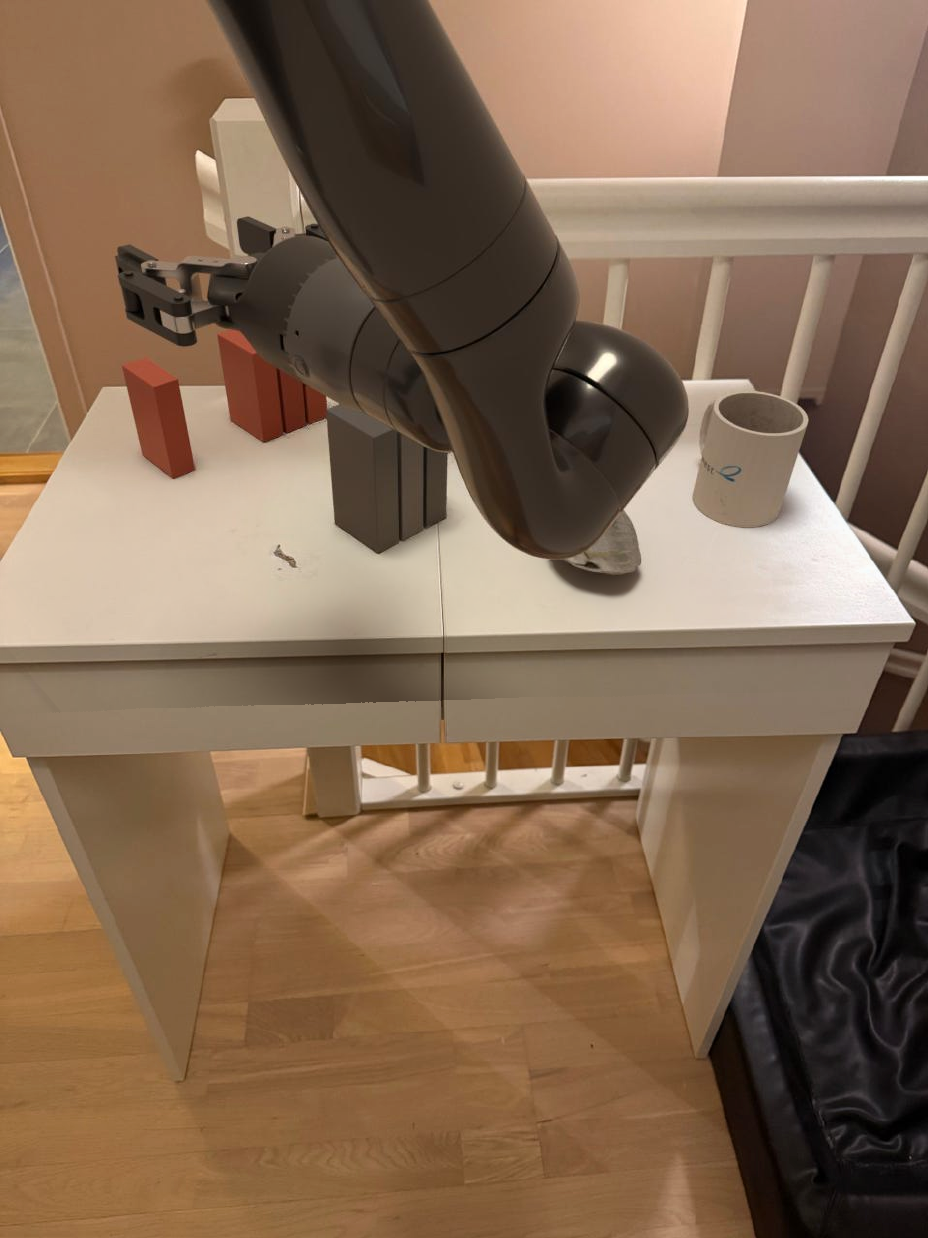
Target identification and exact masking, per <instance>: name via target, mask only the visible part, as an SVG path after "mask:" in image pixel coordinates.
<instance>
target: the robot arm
mask: <svg viewBox="0 0 928 1238" xmlns="http://www.w3.org/2000/svg"><path fill="white" fill-rule="evenodd" d="M204 1H205V2H206V5H207V6H208V8H209V9H210V12H211V13H212V15H213V17H214V19H215V21H216V23H217V24H218V27H219V28H220V31H221V33H222V34H223V37H224V39H225V40H226V43H227V45H228V46H229V48H230V50H231V52H232V54H233V56H234V59H235V60H236V62H237V64H238V66H239V68H240V70H241V73H242V75H243V77H244V79H245V81H246V84H247V85H248V88H249V90H250V92H251V94H252V96H253V98H254V101H255V102H256V104H257V106H258V109H259V111H260V113H261V115H262V117H263V120H264V121H265V124H266V126H267V127H268V129H269V132H270V134H271V136H272V138H273V140H274V142H275V144H276V147H277V149H278V151H279V153H280V155H281V157H282V159H283V161H284V163H285V165H286V166H287V169H288V171H289V174H290V175H291V178H292V179H293V181H294V182H295V184H296V186H297V188H298V190H299V192H300V194H301V197H302V199H303V200H304V202H305V204H306V206H307V207H308V209H309V211H310V213H311V215H312V216H313V218H314V220H315V222H316V223H311V224H307V225H305V226H304V230H305V231H304V232H301V233H296V229H295V228H294V227H289V226H282V227H278V228H276V227H273V226H271V225H270V224H267V223H265V222H262V221H260V220H258V219H256V218H254V217H252V216H249V215H247V216H243V217H239V218H237V220H236V229H237V236H238V245H239V248H240V250H241V252H242V253H244V254H246V255H239V254H235V255H232V256H231V257H230V258H223V257H211V256H201V255H187V256H186V257H185V258H184V259H183V260H181V261H180V262H173V261H172V262H171V261H161V260H159V259H158V258H156V257H154V256H152V255H150V254H149V253H147V252H145V251H143V250H142V249H140V248H138V247H136V246H134V245H132V244H125V245H121V246H117V249H116V251H117V255H114V259H115V260H114V261H115V263H116V269H117V273H118V274H117V280H118V284H119V286H120V289H121V294H122V299H123V302H124V312H125V316H126V319H127V320H129V321H130V322H133V323H135V324H136V325H138V326H140V327H142V328H144V329H146V330H148V331H149V332H152V333H153V334H155V335H157V336H159V337H161V338H163V339H165V340H167V341H169V342H170V343H172V344H173V345H176V346H178V347H183V348H184V347H185V348H186V347H191V346H194V345H196V344H197V343H198V337H197V333H196V332H197V331H196V330H198V329H201V328H204V327H207V326H209V325H213V324H215V326H217V327H219V328H222V329H226V330H231V329H232V330H236V331H239V332H241V333H242V334H243V335H244V337H245V338H246V339H247V341H248V342H249V343H250V345H251V346H252V347H253V349H254V350H255V351H256V352H257V353H258V354H259V356H260V357H261V358H263V359H264V360H265V361H266V362H268V363H269V364H271V365H273V366H275V367H276V368H278V369H280V370H281V371H283V372H285V373H287V374H288V375H290V376H292V377H294V378H295V379H297V380H299V381H301V382H302V383H304V384H306V385H307V386H309V387H311V388H313V389H314V390H316V391H318V392H320V393H321V394H323V395H325V396H326V398H328V399H329V400H331V401H334V402H335V403H337V404H338V405H339V404H341V405H343V406H345V407H348V408H351V409H353V410H356V411H359V412H362V413H365V414H367V415H369V416H371V417H373V418H374V419H376V420H378V421H380V422H381V423H383V424H385V425H387V426H388V427H390V428H392V429H394V430H395V431H397V432H399V433H401V434H402V435H404V436H405V437H407V438H409V439H411V440H412V441H414V442H416V443H418V444H420V445H422V446H424V447H426V448H428V449H431V450H434V451H438V452H444V453H448V454H451V453H452V454H453V457H454V460H455V463H456V466H457V468H458V471H459V473H460V476H461V478H462V480H463V483H464V486H465V488H466V490H467V492H468V494H469V497H470V499H471V500H472V501H473V504H474V505H475V507H476V509H477V511H478V512H479V514H480V515H481V516H482V518H483V519H484V521H485V522H486V523H487V524H488V526H489V527H490V528H491V529H492V530H493V531H494V533H496V534H497V535H498V536H499V537H500V538H501V539H502V540H503V541H504V542H506V543H507V544H509V546H511V547H512V548H513V549H515V550H518V551H519V552H520V553H523V554H526V555H528V556H531V557H534V558H537V559H541V560H542V559H543V560H549V561H554V560H555V561H557V560H560V561H561V560H564V559H568V558H572V557H575V556H578V555H580V554H582V553H584V552H585V551H587V550H588V549H589V548H591V547H592V546H593V545H594V544H595V543H596V542H597V541H598V540H599V539H600V538H601V537H602V536H603V535H604V534H605V532H606V531H607V530H608V529H609V527H610V526H611V525H612V524H613V522H614V521H615V520H616V519H617V517H618V516H619V514H620V513H621V512H622V511H623V510H624V511H625V509H626V508H627V506H628V505H629V504H630V502H631V501H632V500H633V498H634V497H635V496H636V495H637V494H638V493H639V491H640V490H641V489H642V487H643V486H644V485H645V484H646V483H647V482H648V480H649V478H650V477H651V476H652V475H653V473H654V471H656V470H657V469H658V468H659V466H660V465H661V464H662V462H663V461H664V460H665V459H666V458H667V457H668V455H669V454H670V453H671V451H672V450H673V449H674V447H675V446H676V445H677V444H678V442H679V440H680V439H681V437H682V434H683V433H684V431H685V429H686V426H687V423H688V419H689V415H690V413H689V412H690V409H689V408H690V407H689V406H690V405H689V398H688V397H689V396H688V393H687V390H686V387H685V384H684V381H683V380H682V378H681V376H680V375H679V373H678V371H677V369H676V368H675V367H674V365H673V364H672V363H671V362H670V360H669V359H668V358H667V357H666V356H665V355H664V354H662V353H661V352H660V351H659V350H658V349H657V348H656V347H654V346H653V345H652V344H650V343H649V342H647V341H646V340H645V339H643V338H640V337H639V336H637V335H635V334H633V333H632V332H629V331H627V330H624V329H622V328H619V327H615V326H612V325H609V324H604V323H601V322H596V321H590V320H582V319H577V318H578V317H577V316H578V314H579V307H580V288H579V287H580V286H579V283H578V280H577V276H576V273H575V271H574V268H573V265H572V264H571V261H570V259H569V257H568V255H567V253H566V251H565V249H564V248H563V245H562V243H561V241H560V240H559V238H558V236H557V235H556V232H555V230H554V228H553V227H552V225H551V223H550V220H549V219H548V217H547V215H546V213H545V211H544V209H543V207H542V205H541V203H540V201H539V200H538V199H537V196H536V194H535V193H534V191H533V189H532V187H531V184H530V183H529V181H528V179H527V177H526V175H525V174H524V172H523V170H522V168H521V166H520V164H519V161H517V159H516V157H515V154H514V153H513V151H512V149H511V148H510V146H509V144H508V142H507V140H506V138H505V137H504V134H503V133H502V131H501V129H500V127H499V126H498V123H497V122H496V119H495V118H494V116H493V115H492V112H491V111H490V109H489V107H488V105H487V103H486V101H485V100H484V98H483V96H482V95H481V93H480V91H479V89H478V87H477V85H476V83H475V81H474V80H473V79H472V76H471V74H470V73H469V70H468V69H467V67H466V65H465V64H464V62H463V59H462V58H461V57H460V54H459V52H458V51H457V49H456V47H455V45H454V42H452V39H451V38H450V36H449V34H448V33H447V30H446V28H445V27H444V25H443V23H442V22H441V21H442V20H441V19H440V18H439V16H438V14H437V12H436V10H435V9H434V7H433V5H432V3H431V1H430V0H204ZM200 274H205V275H209V280H208V287H207V293H206V299H207V300H205V299H204V297H203V291H202V285H201V279H200ZM166 278H167V279H174V280H176V281H177V282H178V283H179V286H180V288H178V289H174V288H172V287H170V286H169V285H168V284H167V279H166Z"/></svg>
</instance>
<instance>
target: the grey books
mask: <svg viewBox="0 0 928 1238" xmlns="http://www.w3.org/2000/svg"><path fill="white" fill-rule="evenodd" d="M326 416H327V417H326V429H327V440H328V454H329V466H330V467H329V468H330V481H331V493H332V506H333V507H332V508H333V518H334V521H333V522H334V524H335V526H338V527H339V528H341V529H342V530H343V531H345V532H346V533H348V534H349V535H350V536H352V537H353V538H355V539H356V540H358V541H359V542H361V543H362V544H363V545H365V546H366V547H368V548H369V549H370V550H372V551H373V552H375V553H377V554H381V553H382V552H384V551H386V550H388V549H389V548H391V547H393V546H395V545H397V544H399V543H400V540H401V541H405V540H407V539H409V538H411V537H412V536H415V535H417V534H418V533H420V532H422V531H424V528H425V529H427V528H429V527H431V526H433V525H435V524H437V523H439V522H441V521H443V520H445V519H447V503H448V502H447V498H448V460H449V459H448V456H449V453H444V452H438V451H434V450H431V449H428V448H426V447H424V446H422V445H420V444H418V443H416V442H414V441H412V440H411V439H409V438H407V437H405V436H404V435H402V434H401V433H399V432H397V431H395V430H394V429H392V428H390V427H388V426H387V425H385V424H383V423H381V422H380V421H378V420H376V419H374V418H373V417H371V416H369V415H367V414H365V413H362V412H359V411H356V410H353V409H351V408H348V407H345V406H343V405H341V404H339V403H338V404H336V405H334V406H331V407H328V408H327V409H326Z"/></svg>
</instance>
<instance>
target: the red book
mask: <svg viewBox="0 0 928 1238" xmlns="http://www.w3.org/2000/svg"><path fill="white" fill-rule="evenodd" d="M121 369H122V373H123V378H124V381H125V386H126V390H127V394H128V398H129V403H130V408H131V411H132V415H133V421H134V425H135V428H136V433H137V437H138V441H139V447H140V450H141V454H142V456H143V457H144V458H146V460H148V461H149V462H150V463H152V464H153V465H155V466H156V467H157V468H158V469H160V470H161V471H162V472H164V473H165V474H166V475H168V476H169V477H170V478H171V479H175V478H179V477H181V476H184V475H186V474H188V473H191V472H193V471H195V470H196V466H195V460H194V457H193V451H192V446H191V440H190V435H189V430H188V425H187V420H186V419H187V418H186V415H185V414H186V413H185V409H184V404H183V398H182V393H181V387H180V383H179V378H177V377H176V376H174V375H173V374H172V373H170V372H169V371H167V370H165V369H164V368H162V367H161V366H159V365H158V364H156V363H155V362H153V361H152V360H151V359H149V358H147V357H143V358H140V359H137V360H133V361H130V362H127V363H125V364H122V365H121Z"/></svg>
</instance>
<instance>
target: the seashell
mask: <svg viewBox="0 0 928 1238" xmlns="http://www.w3.org/2000/svg"><path fill="white" fill-rule="evenodd" d="M563 561H565V562H567V563H569V564H570V565H572V566H573V567H576V568H579V569H581V570H584V571H589V572H593V573H601V574H602V573H603V574H606V575H623V574H628V573H629V574H630V573H633V572H635V571H636V569H637V567H638V566H640V565H642V554H641V551H640V544H639V539H638V535H637V531H636V528H635V526H634V523H633V521H632V519H631V518H630V516H629V515H628V514H627V512H626V511H625V509H624V510H623V511H622V512H621V513H620V514H619V516H618V517H617V519H616V520H615V521H614V522H613V524H612V525H611V526H610V527H609V529H608V530H607V531H606V532H605V534H604V535H603V536H602V537H601V538H600V539H599V540H598V541H597V542H596V543H595V544H594V545H593V546H592V547H591V548H589V549H588V550H587V551H585V552H584V553H582V554H580V555H578V556H575V557H572V558H568V559H563Z"/></svg>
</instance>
